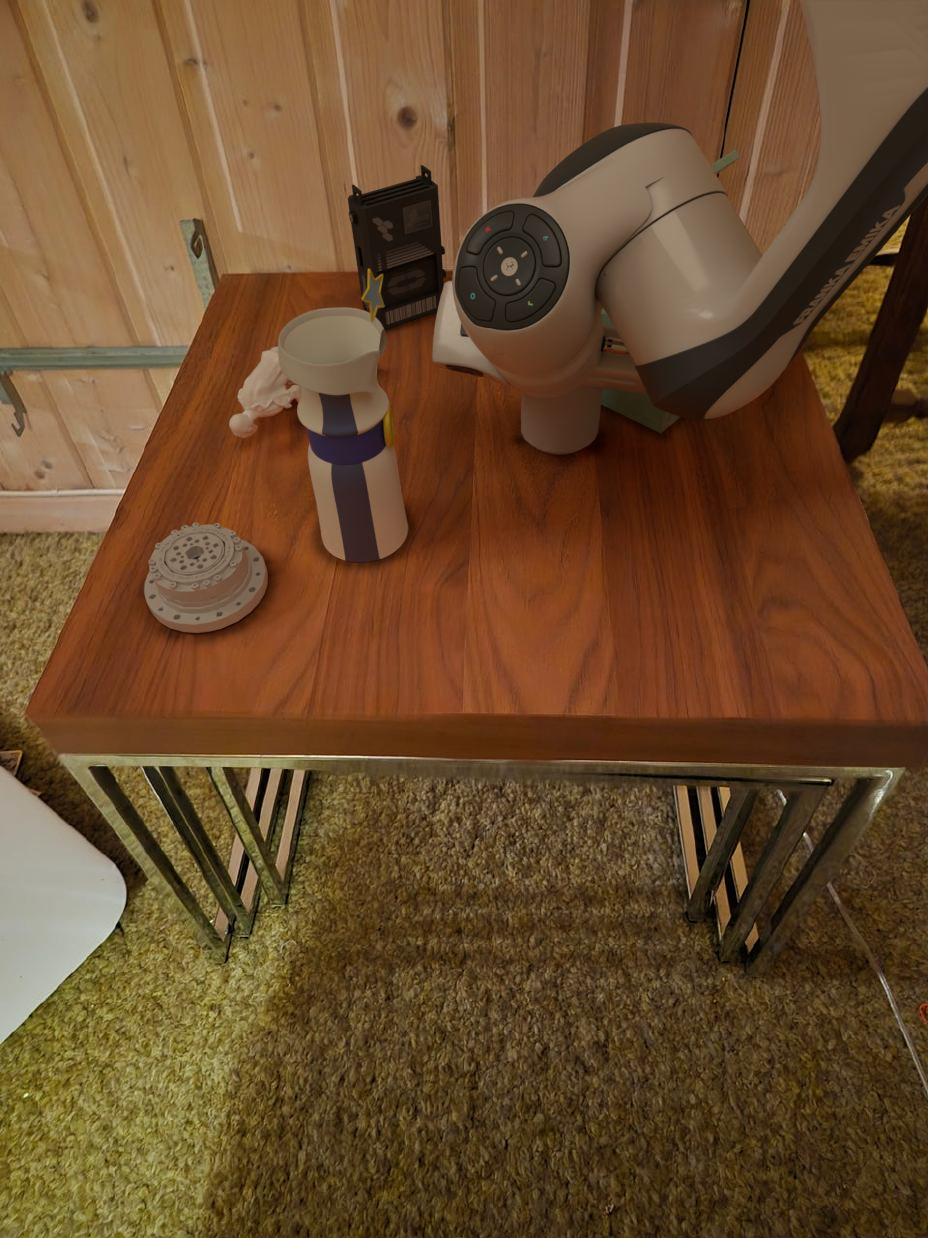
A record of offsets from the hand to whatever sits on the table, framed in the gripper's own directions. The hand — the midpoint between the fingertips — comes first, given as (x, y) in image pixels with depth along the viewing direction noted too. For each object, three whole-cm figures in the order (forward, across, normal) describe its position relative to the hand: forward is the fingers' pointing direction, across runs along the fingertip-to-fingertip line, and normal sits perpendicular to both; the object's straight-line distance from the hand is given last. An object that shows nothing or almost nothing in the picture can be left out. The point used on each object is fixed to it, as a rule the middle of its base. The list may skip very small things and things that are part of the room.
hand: (564, 372), depth 77 cm
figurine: (+3, +27, +6) cm, 28 cm away
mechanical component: (-14, +24, +24) cm, 37 cm away
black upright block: (+18, +22, -8) cm, 29 cm away
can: (+5, 0, +5) cm, 7 cm away
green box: (+12, -6, -3) cm, 14 cm away
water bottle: (-7, +14, +17) cm, 23 cm away
